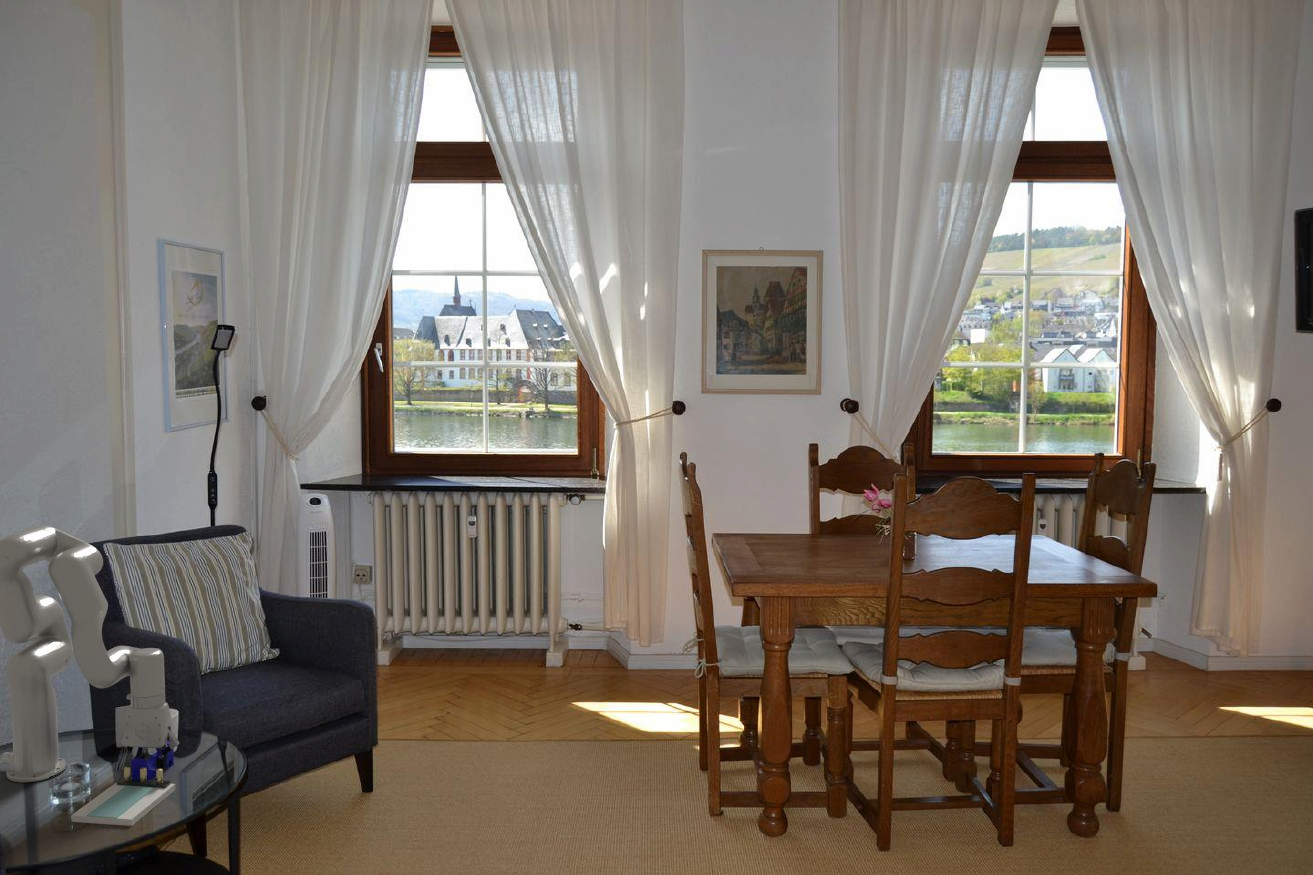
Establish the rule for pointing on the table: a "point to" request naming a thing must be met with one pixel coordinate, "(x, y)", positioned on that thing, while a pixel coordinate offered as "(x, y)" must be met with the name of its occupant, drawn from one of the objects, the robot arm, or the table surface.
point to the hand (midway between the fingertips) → (151, 770)
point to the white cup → (174, 727)
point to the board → (122, 805)
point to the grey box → (120, 724)
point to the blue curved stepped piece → (149, 765)
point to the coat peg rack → (143, 779)
